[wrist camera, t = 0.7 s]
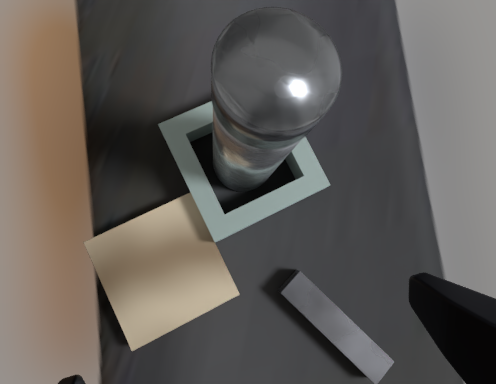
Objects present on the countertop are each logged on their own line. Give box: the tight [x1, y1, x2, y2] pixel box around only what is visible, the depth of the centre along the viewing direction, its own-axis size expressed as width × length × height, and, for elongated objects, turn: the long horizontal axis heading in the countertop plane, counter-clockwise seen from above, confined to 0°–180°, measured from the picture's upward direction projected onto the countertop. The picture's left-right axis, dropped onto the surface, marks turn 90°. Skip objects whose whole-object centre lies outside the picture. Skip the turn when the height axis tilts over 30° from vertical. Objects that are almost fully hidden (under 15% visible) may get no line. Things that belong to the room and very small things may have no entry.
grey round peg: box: [211, 7, 342, 192], centre depth 17 cm, size 4×4×13 cm
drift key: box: [277, 270, 394, 384], centre depth 22 cm, size 8×2×1 cm, turn 46°
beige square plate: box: [84, 192, 240, 351], centre depth 22 cm, size 7×7×1 cm
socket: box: [158, 101, 330, 242], centre depth 23 cm, size 8×8×2 cm
